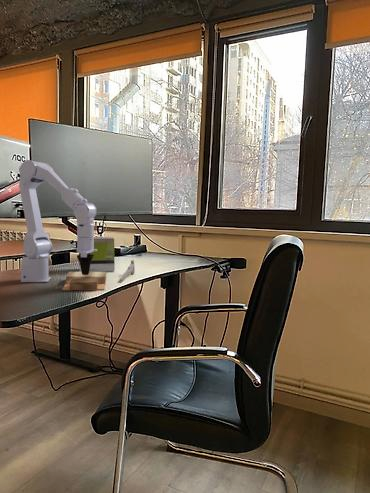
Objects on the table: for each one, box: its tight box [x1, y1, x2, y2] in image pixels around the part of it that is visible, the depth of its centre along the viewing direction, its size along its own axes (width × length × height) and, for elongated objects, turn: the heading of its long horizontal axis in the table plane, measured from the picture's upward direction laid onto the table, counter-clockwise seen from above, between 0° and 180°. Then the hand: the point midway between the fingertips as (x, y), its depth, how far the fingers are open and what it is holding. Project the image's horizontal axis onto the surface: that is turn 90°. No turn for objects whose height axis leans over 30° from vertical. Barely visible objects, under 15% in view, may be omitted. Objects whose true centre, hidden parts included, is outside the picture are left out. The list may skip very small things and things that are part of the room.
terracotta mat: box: [61, 283, 106, 291], centre depth 139 cm, size 14×9×1 cm, turn 99°
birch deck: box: [65, 271, 107, 285], centre depth 148 cm, size 14×10×3 cm
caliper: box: [118, 259, 136, 284], centre depth 158 cm, size 20×1×6 cm, turn 173°
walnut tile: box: [69, 279, 98, 291], centre depth 137 cm, size 9×6×2 cm, turn 99°
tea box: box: [78, 236, 115, 272], centre depth 174 cm, size 15×10×15 cm
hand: (85, 274), depth 142 cm, fingers closed
